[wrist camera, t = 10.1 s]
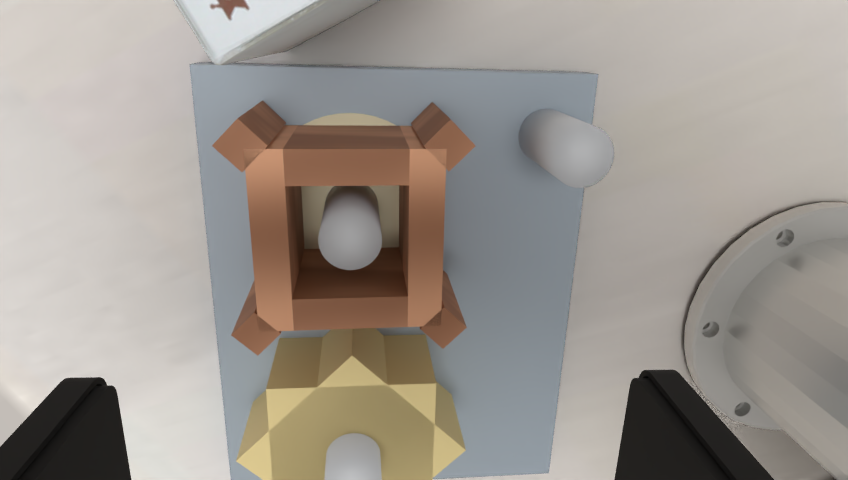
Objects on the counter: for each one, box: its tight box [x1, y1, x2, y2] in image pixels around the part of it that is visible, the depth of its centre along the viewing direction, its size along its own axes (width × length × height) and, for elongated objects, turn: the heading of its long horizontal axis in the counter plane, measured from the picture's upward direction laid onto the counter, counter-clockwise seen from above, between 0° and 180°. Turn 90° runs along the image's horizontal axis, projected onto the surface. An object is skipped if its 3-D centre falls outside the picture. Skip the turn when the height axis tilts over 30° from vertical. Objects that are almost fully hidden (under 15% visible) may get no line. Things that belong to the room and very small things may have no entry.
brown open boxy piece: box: [212, 100, 475, 356], centre depth 22 cm, size 8×8×5 cm
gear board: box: [190, 62, 614, 480], centre depth 24 cm, size 16×20×7 cm
